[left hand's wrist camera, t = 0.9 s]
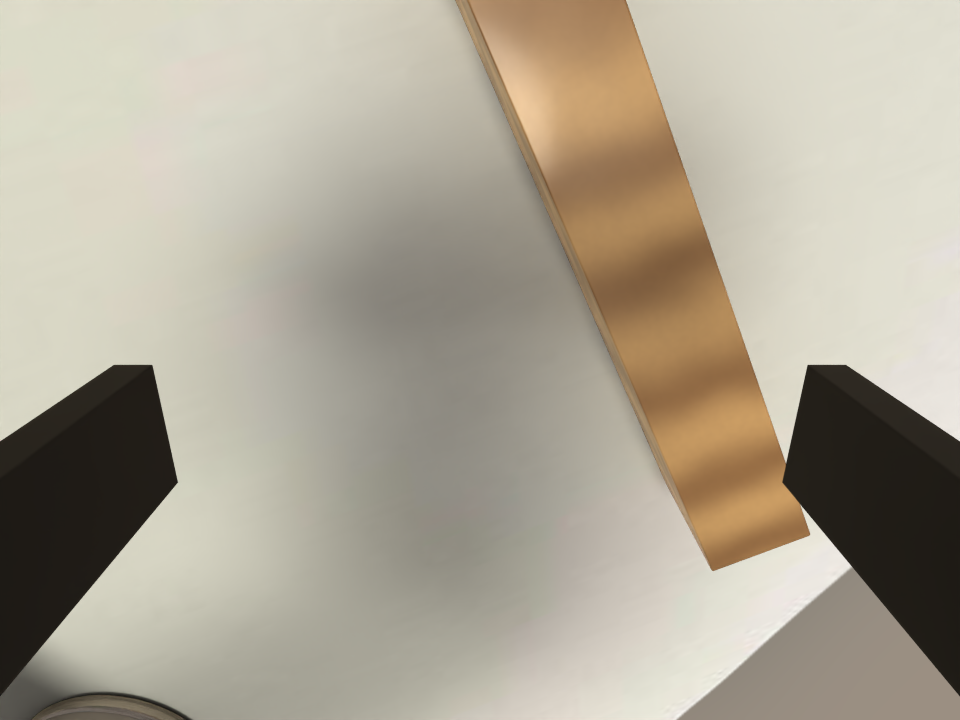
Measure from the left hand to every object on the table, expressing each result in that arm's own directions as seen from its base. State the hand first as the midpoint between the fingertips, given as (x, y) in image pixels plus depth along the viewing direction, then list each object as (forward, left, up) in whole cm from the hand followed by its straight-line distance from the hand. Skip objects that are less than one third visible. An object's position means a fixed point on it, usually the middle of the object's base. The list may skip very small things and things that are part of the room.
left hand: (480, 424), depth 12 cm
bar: (+15, +13, -21) cm, 28 cm away
